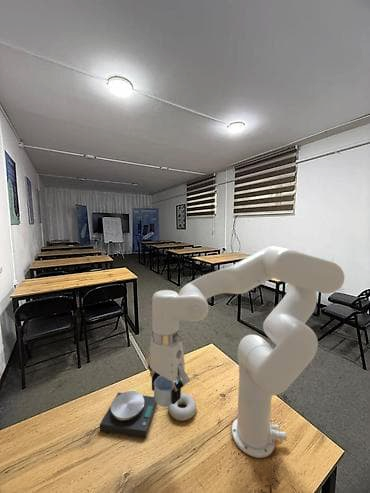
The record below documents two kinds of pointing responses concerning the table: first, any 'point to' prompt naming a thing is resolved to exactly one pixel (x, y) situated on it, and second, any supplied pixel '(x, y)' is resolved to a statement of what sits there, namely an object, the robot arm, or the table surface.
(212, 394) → the table surface
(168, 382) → the light blue cup
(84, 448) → the table surface
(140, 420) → the scale
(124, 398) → the scale pan
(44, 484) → the table surface
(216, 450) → the table surface
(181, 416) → the donut
